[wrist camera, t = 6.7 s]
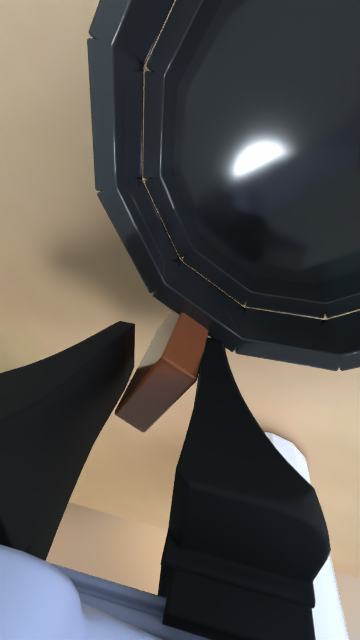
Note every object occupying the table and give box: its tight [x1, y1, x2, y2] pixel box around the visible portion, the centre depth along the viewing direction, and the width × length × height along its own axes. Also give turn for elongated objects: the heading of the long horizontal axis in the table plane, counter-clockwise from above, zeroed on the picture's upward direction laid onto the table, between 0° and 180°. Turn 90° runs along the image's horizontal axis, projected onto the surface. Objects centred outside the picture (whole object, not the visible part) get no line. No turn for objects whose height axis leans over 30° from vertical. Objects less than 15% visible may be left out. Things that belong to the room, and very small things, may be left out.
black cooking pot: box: [87, 0, 360, 432], centre depth 9 cm, size 16×13×8 cm
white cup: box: [264, 432, 349, 640], centre depth 18 cm, size 8×8×10 cm
